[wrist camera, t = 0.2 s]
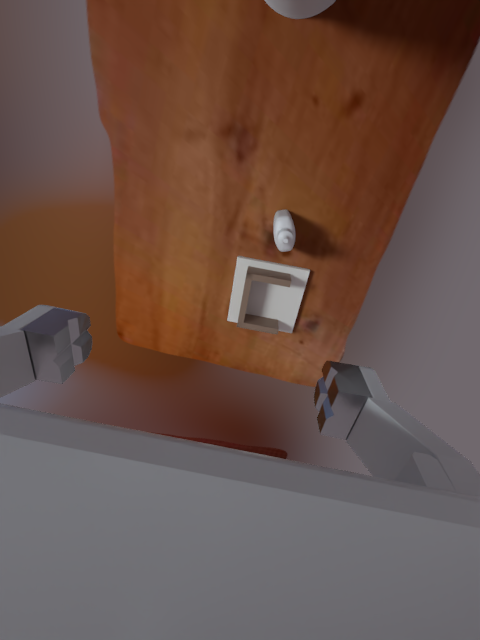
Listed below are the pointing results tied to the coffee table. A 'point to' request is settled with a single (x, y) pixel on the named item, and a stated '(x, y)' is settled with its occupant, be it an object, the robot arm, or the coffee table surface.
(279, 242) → the eye dropper bottle
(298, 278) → the u rest
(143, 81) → the coffee table surface
